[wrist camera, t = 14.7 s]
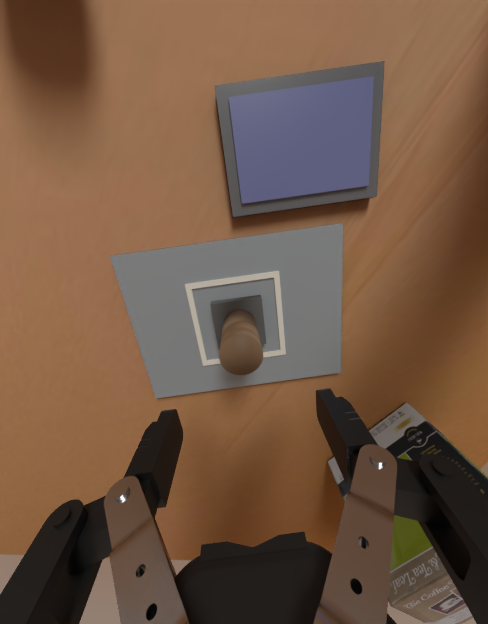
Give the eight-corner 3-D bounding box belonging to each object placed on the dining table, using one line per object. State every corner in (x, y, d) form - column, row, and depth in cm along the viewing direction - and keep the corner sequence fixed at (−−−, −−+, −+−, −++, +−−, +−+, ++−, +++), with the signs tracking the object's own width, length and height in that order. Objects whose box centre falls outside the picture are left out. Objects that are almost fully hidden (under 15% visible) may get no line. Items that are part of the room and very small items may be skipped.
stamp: (260, 294, 25) (271, 321, 17) (265, 339, 27) (277, 380, 19) (211, 301, 25) (201, 330, 17) (219, 345, 27) (213, 388, 19)
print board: (340, 223, 23) (343, 223, 23) (338, 370, 29) (341, 373, 29) (112, 255, 24) (108, 256, 23) (157, 395, 29) (155, 399, 29)
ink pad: (375, 71, 19) (386, 58, 18) (369, 198, 23) (378, 195, 21) (215, 94, 20) (214, 83, 18) (232, 217, 23) (232, 216, 21)
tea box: (364, 487, 37) (442, 638, 23) (325, 458, 35) (386, 610, 21) (442, 434, 34) (587, 573, 20) (406, 398, 32) (543, 529, 18)
